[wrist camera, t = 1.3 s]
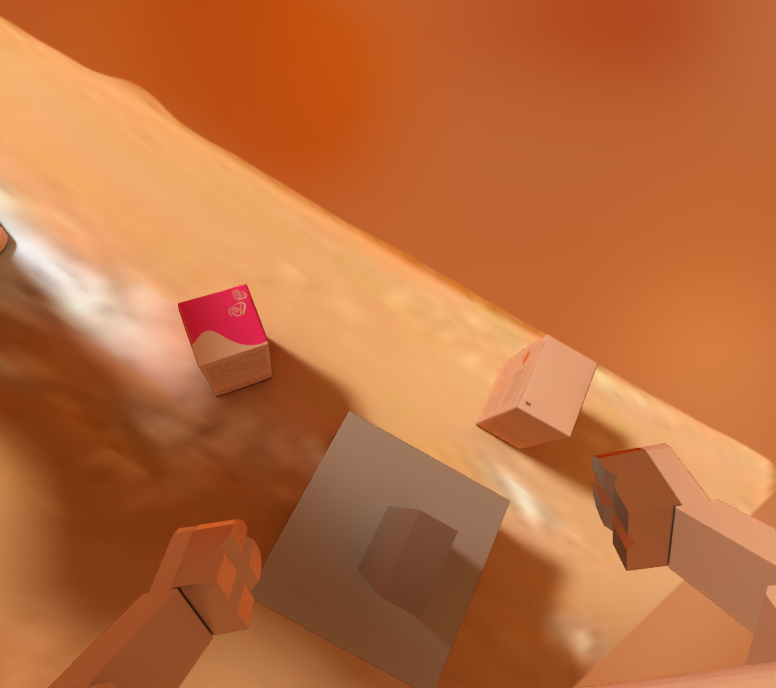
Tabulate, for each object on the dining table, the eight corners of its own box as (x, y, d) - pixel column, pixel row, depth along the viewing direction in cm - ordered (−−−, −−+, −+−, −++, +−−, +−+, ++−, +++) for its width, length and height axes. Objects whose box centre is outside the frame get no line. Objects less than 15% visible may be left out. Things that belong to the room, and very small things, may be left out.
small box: (518, 450, 52) (571, 440, 42) (472, 424, 52) (515, 408, 42) (545, 386, 55) (600, 362, 45) (502, 361, 55) (548, 332, 45)
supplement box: (275, 377, 50) (270, 345, 39) (216, 398, 48) (194, 370, 37) (256, 326, 51) (246, 281, 40) (198, 344, 49) (171, 303, 39)
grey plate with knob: (247, 593, 35) (228, 635, 25) (348, 412, 40) (367, 384, 30) (428, 692, 35) (483, 774, 25) (506, 500, 40) (578, 503, 30)
